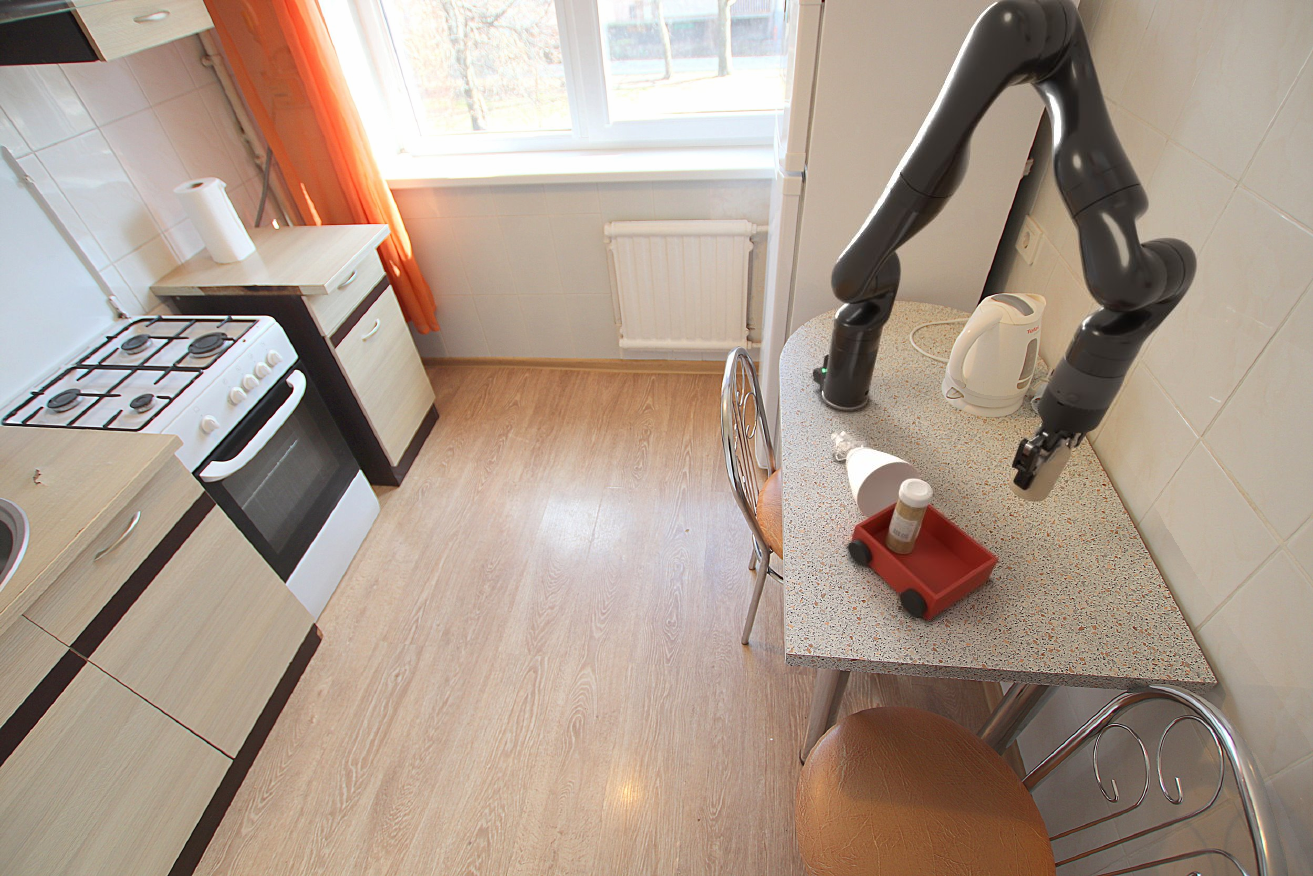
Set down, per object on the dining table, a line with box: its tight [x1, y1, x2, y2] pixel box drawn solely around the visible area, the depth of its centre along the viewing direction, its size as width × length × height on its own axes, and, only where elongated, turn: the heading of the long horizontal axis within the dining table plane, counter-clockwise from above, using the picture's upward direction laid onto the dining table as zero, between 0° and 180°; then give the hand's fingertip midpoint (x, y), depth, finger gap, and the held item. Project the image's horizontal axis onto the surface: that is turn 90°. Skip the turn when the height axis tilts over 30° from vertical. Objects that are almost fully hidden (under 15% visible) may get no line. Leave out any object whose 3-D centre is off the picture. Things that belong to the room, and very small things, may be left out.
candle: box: [1008, 437, 1072, 503], centre depth 90 cm, size 6×6×10 cm
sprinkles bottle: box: [885, 479, 934, 554], centre depth 96 cm, size 5×5×14 cm
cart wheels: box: [847, 540, 927, 618], centre depth 97 cm, size 15×16×4 cm
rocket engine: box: [830, 430, 922, 519], centre depth 110 cm, size 12×12×18 cm
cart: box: [850, 502, 1000, 622], centre depth 97 cm, size 16×13×6 cm
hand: (1034, 477), depth 92 cm, fingers closed on candle, 5 cm apart
